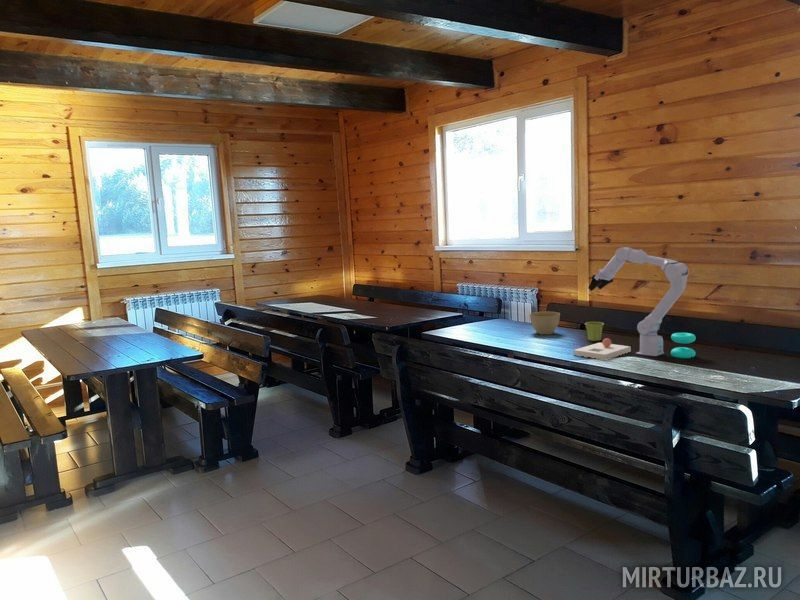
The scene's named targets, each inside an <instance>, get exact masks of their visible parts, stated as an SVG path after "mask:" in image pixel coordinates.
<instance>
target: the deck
mask: <svg viewBox="0 0 800 600" xmlns="http://www.w3.org/2000/svg"><path fill="white" fill-rule="evenodd" d="M631 349H632V348H631V346H629V345H623V344H614V343H611V345H610V346H609V347H605V346H604V345H603V344H602V342H596V343H593V344H590V345H586V346H583V347H579V348H575V349H573V356H574V355H577V356H576V357H581V356H584V357H583V358H587V357H591V358H590V359H594V358H596V359H595V360H601V359H602V360H601V361H607V360H610V359H613V358H616V357H619V355H620V356H622V354H623V355H625V353H626V354H628V352H629V353H631V351H632V350H631ZM606 359H607V360H606Z"/></svg>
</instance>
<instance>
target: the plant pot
mask: <svg viewBox="0 0 800 600" xmlns="http://www.w3.org/2000/svg"><path fill="white" fill-rule="evenodd" d="M584 325H585V328H586V332H587V338H588V341H591V342H596V341H601V339H602V333H603V328H604V325H605V323H604V322H600V321H587V322H585V323H584Z"/></svg>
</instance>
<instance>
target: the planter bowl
mask: <svg viewBox="0 0 800 600" xmlns="http://www.w3.org/2000/svg"><path fill="white" fill-rule="evenodd" d="M560 316H561V313H560V312H557V311H537V312H536V311H535V312H531V313H529V319H530V322H531V323H530V324H531V325H532V328H533V329H534V330H535V332H536V334H537V333H539V334H538V335H543V334H546V335H552V334H554V333H555V331H556V329H557V328H558V326H559V323H560V318H561V317H560Z"/></svg>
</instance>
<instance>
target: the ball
mask: <svg viewBox="0 0 800 600" xmlns="http://www.w3.org/2000/svg"><path fill="white" fill-rule="evenodd" d="M601 343H602V344H603V345H604V346H605V347H609V346H610V345H611V344H612V340H611V339H610V338H608V337H607V338H604V339H603V340H602V342H601Z"/></svg>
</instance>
